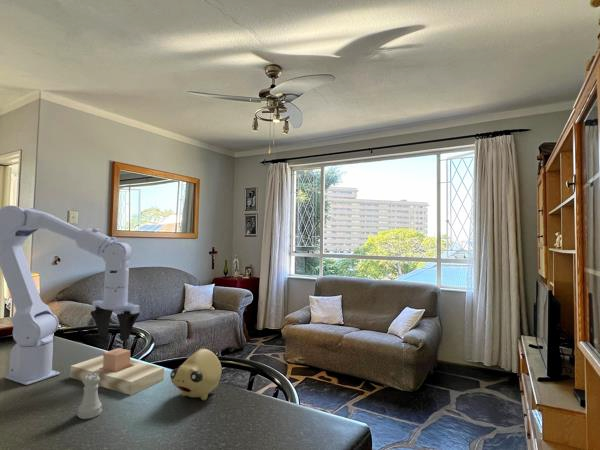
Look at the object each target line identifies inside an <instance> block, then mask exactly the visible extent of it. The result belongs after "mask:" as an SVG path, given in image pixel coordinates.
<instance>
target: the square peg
mask: <svg viewBox="0 0 600 450" xmlns="http://www.w3.org/2000/svg"><path fill="white" fill-rule="evenodd" d="M102 356H103V370H106V371H110V372H114V373H116V372H119V371H121V370H124V369H127V368H129V367H130V360H131V350H129V349H124V348H120V347H118V348H115V349H112V350H108V351H105V352H103V355H102Z"/></svg>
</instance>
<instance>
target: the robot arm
mask: <svg viewBox="0 0 600 450" xmlns="http://www.w3.org/2000/svg"><path fill="white" fill-rule="evenodd" d="M40 229H45V230H48V231H50V232H53V233H55V234H58V235H60V236H63V237H66V238H67V239H70V240H73V241H74V242H75V243H76V246H77V248H79V249H81V250H83V251H86V252H88V253H90V254H93V255H95V256H97V257H98V258H102V260H103V261H104V262H105V264H104V265H105V269H104V280H103V281H104V283H103V284H104V285H103V286H104V287H103V300H93V301H92V309H94V310H91V311H90V315H91V317H92V318H93V320H94V322H95V326H96V328H97V333H98V337H99V338H103V337H107V336H108V334H109V330H110V320H111V317H112V314H113V312H115V311H116V312H121V313H118V314H116V318H117V320H118V324H119V339H120V340H119V341H120V342H124V341H128V340H129V339H130V335H131V333H132V329H133V326H134V325H135V322H136V321H137V319H138V317H139V316H140V305H138V304H134V303H131V302H128V301H129V300H128V297H129V293H128V292H129V273H130V269H129V268H130V259H131V258H132V255H133V248H132V246H131V245H130V244H129V243H127V241H124V240H118V241H117V237H114V236H111V237H110V236H108V235H106V234H104V233H101V231H100V230H101V229H99V228H97V227H96V228H95V227H94V228H93V227H92V228H91V227H90V228H89V227H88V228H83V229H81V228H79V227H77V226H75V225H73V224H71V223H69V222H67V221H66V220H64V219H61V218H59V217H57V216H55V215H53V214H51V213H49V212H45V211H41V210H39V209H36V208H34V207H21V206H17V205H5V206H3V207H1V208H0V270H1V272H2V275H3V277H4V281H5V283H6V285H7V289H8V292H9V294H10V297H11V299H12V302H13V304H14V305H13V306H14V307H15V313H13V314H14V315H13V317H12V318H11V322H12V325H13V326H12V327H13V329H12V337H13V340H14V341H15V342H16V343H15V344H14V345H13V347H12V348H11V351H10V354H9V357H10V358H9V374H7V375H6V376H4V379H7V380H10V381H13V382H15V383H19V384H21V385H24V386H25V385H26V386H27V385H32V384H34V383H37V382H39V381H43V380H46V379H49V378H53V377H55V376H58V375H60V371H56V370H53V354H54V353H53V351H54V350H53V349H54V333H55V332H56V331H57V330H58V328H59V324H60V322H59V319H58V317H57V315H55V314H54V313H53V312H52V310H51V309H50V306H49V305H47V304H46V303H44V302H43V301H42V299H41V296H40V293H39V291H38V290H39V289H38V288H37V285H36V282H35V280H34V277H33V275H32V274H33V273H32V271H31V269H30V266H29V263H28V260H27V258H26V254H25V252H24V249H23V244H24V243H25V242H26V240H28V238H29V237H30V236H32V235H33V234H34V233H35V232H37V231H39V230H40Z"/></svg>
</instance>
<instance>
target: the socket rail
mask: <svg viewBox="0 0 600 450" xmlns="http://www.w3.org/2000/svg"><path fill="white" fill-rule="evenodd" d="M69 369H70V375H69V377H70V378H71V379H74V380H78V381H80V382H81V381H83V379H84V376H85V375H87V376H88V374H90V373H91V375H93V373H96V374H98V376H99V377H100V380H99V382H98V386H99V387H102V388H106V389H108V390H112V391H114V392H119V393H122V394H125V395H129V396H132V395H134V394H137V393H138V392H140V391H142V390H145V389H146V388H149V387H152V386H153V385H155V384H158V383H160V382H162V381H164V380H165V377H164V376H165V367H161V366H159V365H158V366H157V365H152V364H149V363H145V362H140V361H135V360H131V359H130V367H129V368H127V369H124V370H121V371H119V372H116V373H114V372H110V371H106V370H103V355H99V356H96V357H93V358H90V359H88V360H85V361H82V362H78V363H76V364H72V365H70V368H69Z"/></svg>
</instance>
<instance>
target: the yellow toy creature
mask: <svg viewBox="0 0 600 450" xmlns="http://www.w3.org/2000/svg"><path fill="white" fill-rule="evenodd" d="M221 377H222V364H221V361H220V360H219V358H218V356H217V354H215V353H214V352H213V351H211V350H210V349H207V348H200V349H198V350H197V351H195V352H194V353H193V354H191V355H190V356H188V358H187V359H186V360H185V361H184V362H183V363H182V364H181V365H179V366H178V368H177V367H176V368H173V370H172V371H171V372H170V380H171V381H170V382H171V383H172V384H173V386H174V387H176V388H177V389H179V391H180V392H181V395H182V397H186V396H187V397H190V398H200V399H201V400H202V401H206V400H207V399H208V395H209V393H211V392H212V391H213V390H214V389H215V388H216V387H218V386H219V383H220V380H221Z"/></svg>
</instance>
